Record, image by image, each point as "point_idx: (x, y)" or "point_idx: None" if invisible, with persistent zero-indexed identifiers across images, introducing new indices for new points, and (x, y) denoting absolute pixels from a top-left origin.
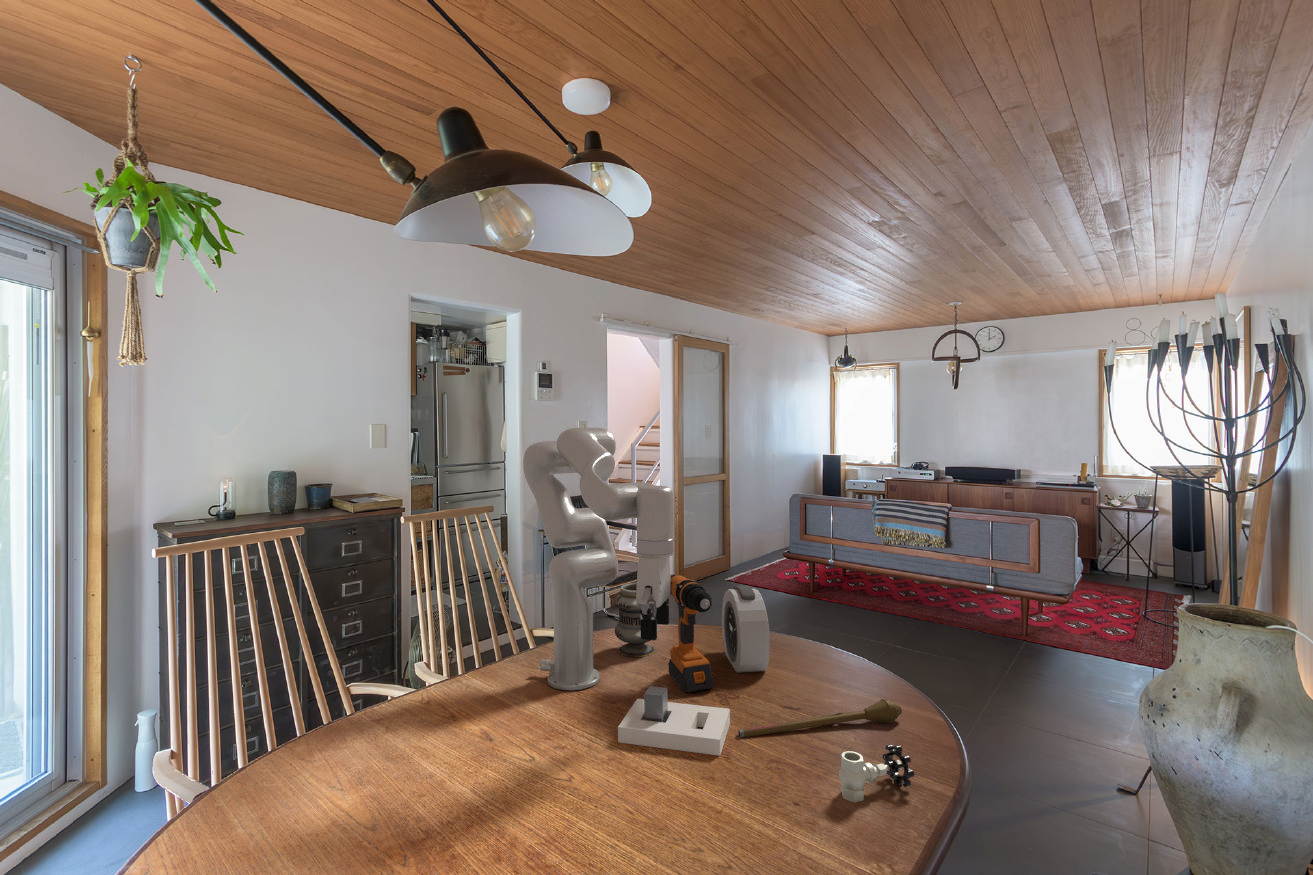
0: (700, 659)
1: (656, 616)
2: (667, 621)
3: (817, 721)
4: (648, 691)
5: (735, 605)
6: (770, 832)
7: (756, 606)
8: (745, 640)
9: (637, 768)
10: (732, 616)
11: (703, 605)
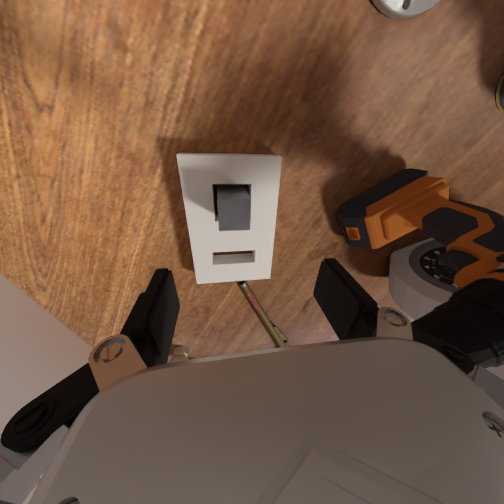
0: (383, 237)
1: (332, 281)
2: (316, 300)
3: (269, 331)
4: (229, 203)
5: None
6: (105, 322)
7: None
8: (411, 293)
9: (131, 201)
10: None
11: None
